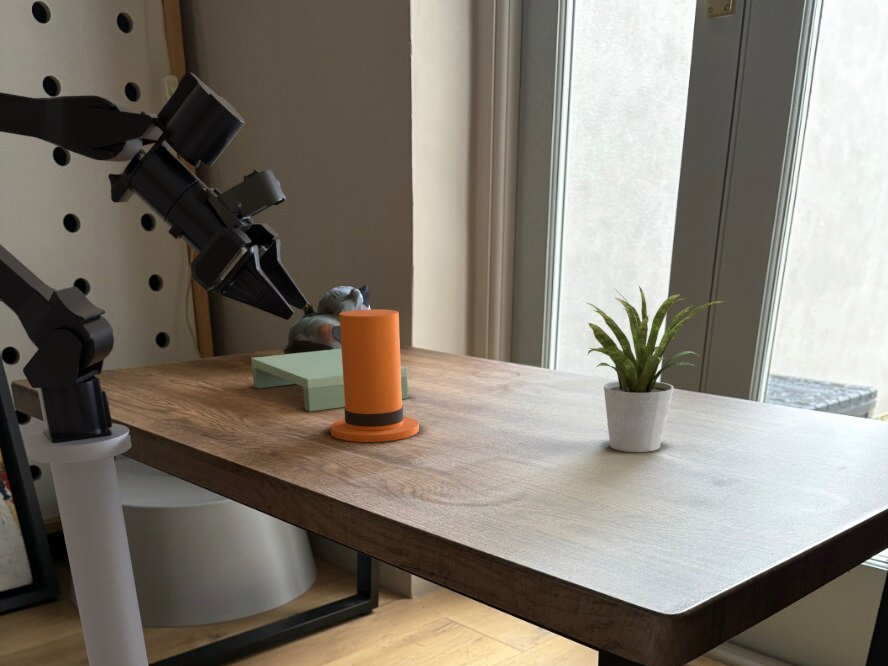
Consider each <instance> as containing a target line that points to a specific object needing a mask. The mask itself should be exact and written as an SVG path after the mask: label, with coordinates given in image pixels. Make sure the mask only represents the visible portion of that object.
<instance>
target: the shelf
mask: <svg viewBox="0 0 888 666" xmlns="http://www.w3.org/2000/svg"><path fill="white" fill-rule="evenodd" d="M250 360H251V361H250V362H251V369H252V370H251V371H252V380H253V387H254V388H256V389H264V388H273V387H280V386H290V385H297V386H299V387H303V388H302V389H303V402H304V403H303V404H304V410H305V411H308V412H317V411H325V410H330V409H331V410H332V409H339V408H345V397H344V381H343V365H342V349H333V350H323V351H314V352H304V353H294V354H285V353H284V354H276V355H266V356H257V357H251V358H250ZM408 386H409V385H408V367H406V366H403V365H401V392H402V400H406V399H409V389H408V388H409V387H408Z"/></svg>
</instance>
